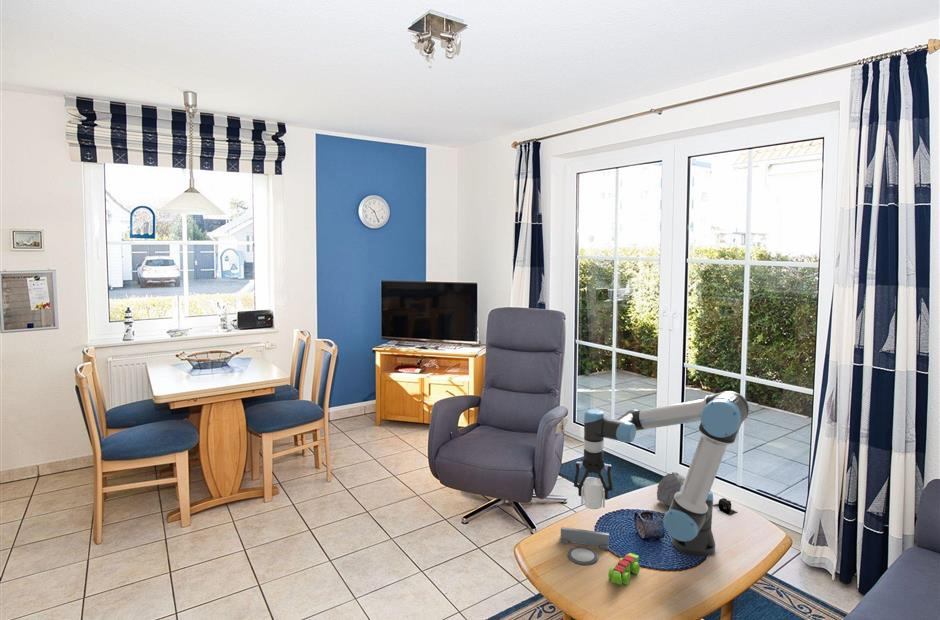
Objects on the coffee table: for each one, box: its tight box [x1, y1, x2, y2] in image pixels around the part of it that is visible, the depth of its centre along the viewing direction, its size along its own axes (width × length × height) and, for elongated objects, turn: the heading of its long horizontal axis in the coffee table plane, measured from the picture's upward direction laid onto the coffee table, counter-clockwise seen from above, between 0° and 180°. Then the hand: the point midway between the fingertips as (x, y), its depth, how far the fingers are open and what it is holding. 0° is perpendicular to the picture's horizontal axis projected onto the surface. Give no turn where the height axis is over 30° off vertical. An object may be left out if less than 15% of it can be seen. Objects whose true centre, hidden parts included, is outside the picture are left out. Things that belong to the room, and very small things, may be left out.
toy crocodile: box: [608, 552, 641, 586], centre depth 195 cm, size 20×7×6 cm, turn 141°
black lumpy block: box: [713, 497, 739, 517], centre depth 241 cm, size 12×7×5 cm, turn 27°
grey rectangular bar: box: [559, 526, 610, 551], centre depth 215 cm, size 18×5×5 cm, turn 75°
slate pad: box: [567, 546, 599, 566], centre depth 206 cm, size 11×11×1 cm
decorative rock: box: [656, 471, 686, 507], centre depth 243 cm, size 16×7×15 cm, turn 37°
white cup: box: [582, 476, 604, 510], centre depth 222 cm, size 8×8×10 cm
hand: (593, 504), depth 222 cm, fingers closed on white cup, 7 cm apart
